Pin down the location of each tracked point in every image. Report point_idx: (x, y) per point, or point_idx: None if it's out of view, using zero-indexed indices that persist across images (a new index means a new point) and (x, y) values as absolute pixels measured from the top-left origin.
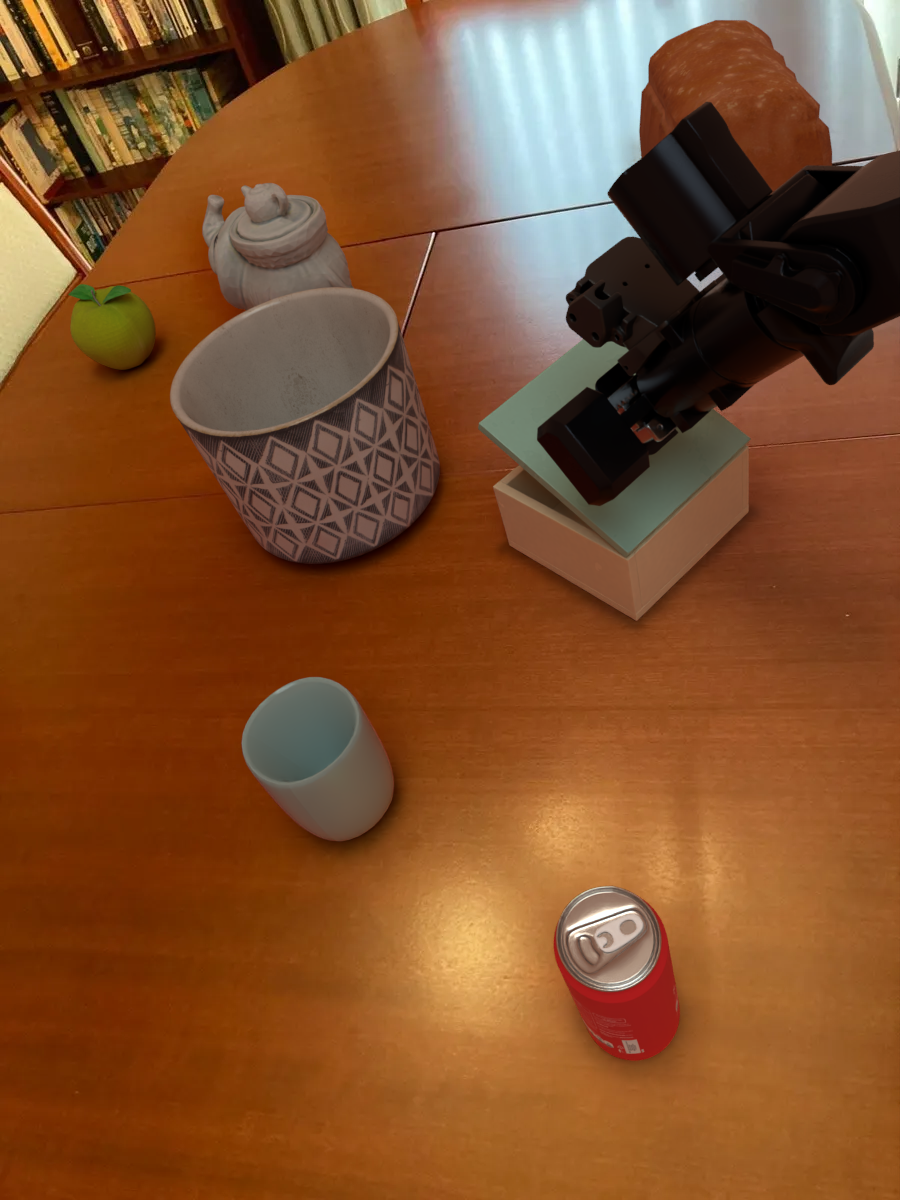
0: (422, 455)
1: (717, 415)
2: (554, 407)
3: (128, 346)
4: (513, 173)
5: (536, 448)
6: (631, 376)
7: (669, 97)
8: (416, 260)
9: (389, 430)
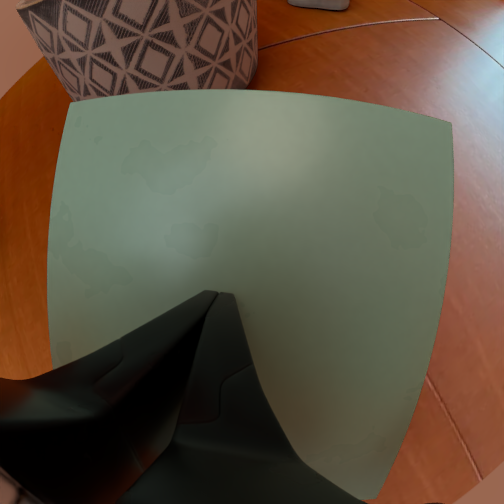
0: (172, 86)
1: (394, 448)
2: (176, 172)
3: None
4: (500, 43)
5: (78, 216)
6: (17, 483)
7: None
8: (415, 15)
9: (110, 43)
